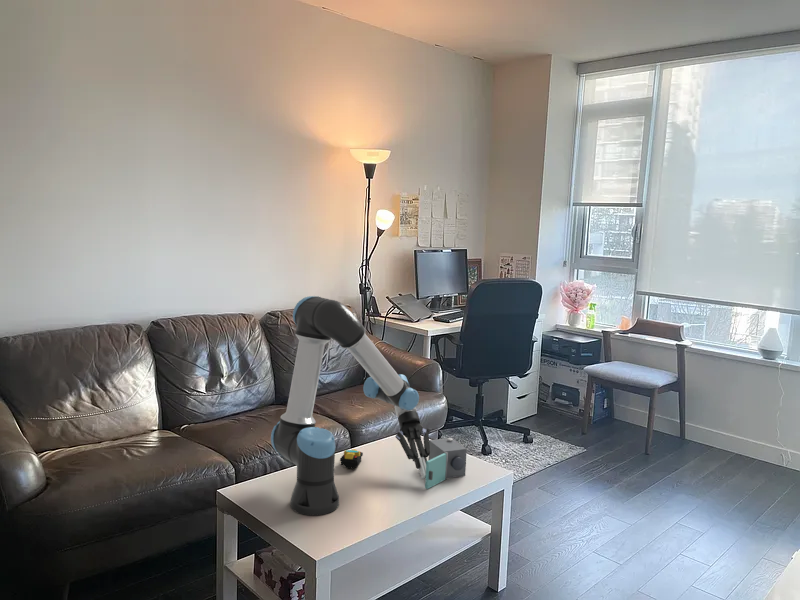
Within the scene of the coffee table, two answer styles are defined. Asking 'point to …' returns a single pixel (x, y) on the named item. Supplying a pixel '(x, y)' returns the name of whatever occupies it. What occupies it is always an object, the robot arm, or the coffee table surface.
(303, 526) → the coffee table surface
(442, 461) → the side door
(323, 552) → the coffee table surface
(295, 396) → the robot arm
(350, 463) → the gadget
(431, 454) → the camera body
